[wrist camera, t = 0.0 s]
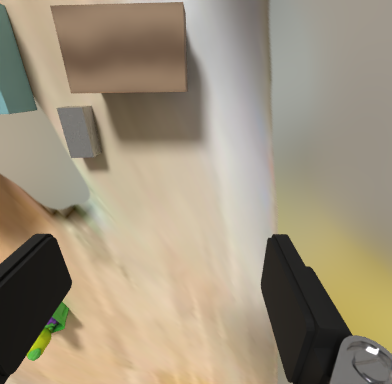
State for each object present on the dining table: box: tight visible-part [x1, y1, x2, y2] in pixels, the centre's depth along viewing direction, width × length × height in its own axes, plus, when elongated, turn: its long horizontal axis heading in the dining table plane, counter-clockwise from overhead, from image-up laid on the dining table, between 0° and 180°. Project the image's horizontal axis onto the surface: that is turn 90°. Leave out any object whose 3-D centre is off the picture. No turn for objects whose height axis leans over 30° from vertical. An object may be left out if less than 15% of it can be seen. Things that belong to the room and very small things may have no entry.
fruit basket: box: [26, 302, 69, 361], centre depth 55 cm, size 11×9×11 cm
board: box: [50, 2, 188, 93], centre depth 28 cm, size 9×15×4 cm, turn 90°
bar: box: [57, 106, 102, 158], centre depth 37 cm, size 8×4×3 cm, turn 2°
